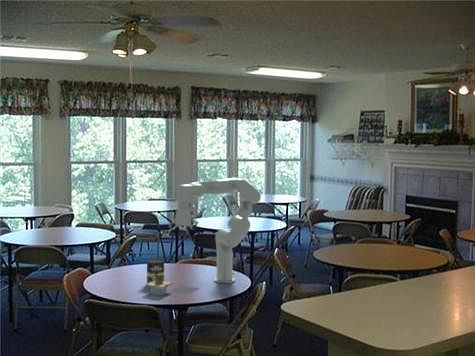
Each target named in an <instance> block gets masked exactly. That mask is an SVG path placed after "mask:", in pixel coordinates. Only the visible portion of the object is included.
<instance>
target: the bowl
mask: <svg viewBox="0 0 475 356" xmlns="http://www.w3.org/2000/svg"><path fill="white" fill-rule="evenodd" d="M150 294H151V295H153V296H162V295H167V294H168V287H166V288H163V289H159V288H152V287H150Z"/></svg>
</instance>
